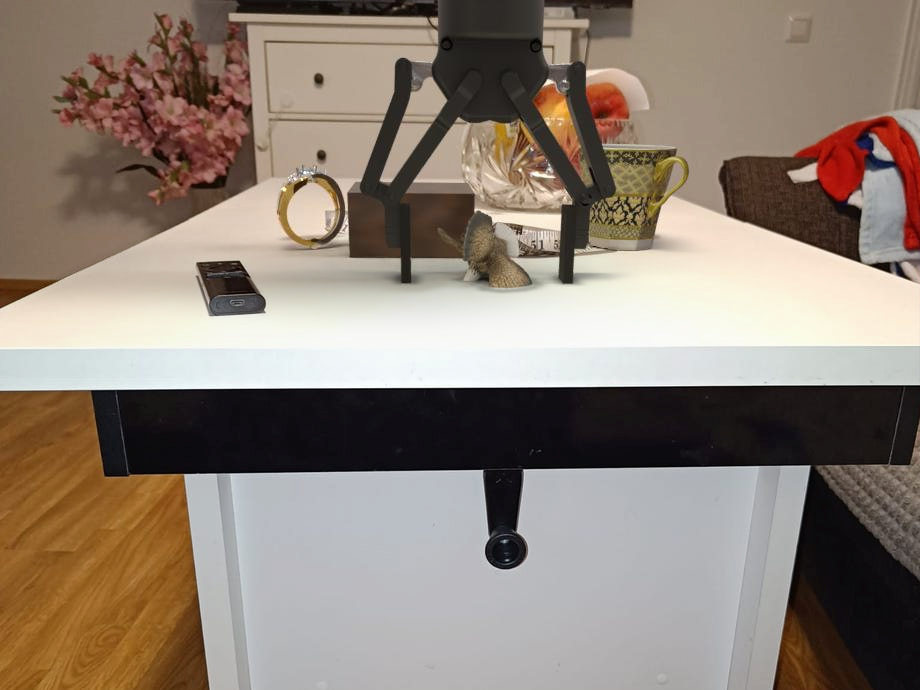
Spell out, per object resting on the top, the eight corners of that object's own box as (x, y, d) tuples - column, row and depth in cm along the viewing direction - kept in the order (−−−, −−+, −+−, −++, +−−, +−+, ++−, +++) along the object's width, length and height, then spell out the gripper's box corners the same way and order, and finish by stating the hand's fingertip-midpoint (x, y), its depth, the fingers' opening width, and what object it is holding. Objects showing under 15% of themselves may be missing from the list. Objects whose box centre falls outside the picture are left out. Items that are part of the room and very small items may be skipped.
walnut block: (349, 257, 89) (347, 192, 87) (357, 239, 100) (355, 181, 98) (474, 257, 90) (474, 193, 88) (468, 240, 101) (468, 182, 99)
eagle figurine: (412, 272, 75) (440, 269, 67) (455, 194, 75) (489, 182, 67) (489, 320, 78) (526, 323, 69) (531, 245, 78) (572, 239, 69)
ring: (340, 244, 97) (336, 163, 94) (351, 248, 94) (348, 165, 91) (275, 248, 94) (269, 164, 91) (285, 252, 91) (279, 167, 88)
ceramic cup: (554, 243, 100) (558, 144, 96) (617, 236, 105) (624, 143, 102) (647, 260, 90) (655, 151, 87) (710, 251, 96) (721, 149, 93)
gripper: (312, -30, 61) (327, 300, 69) (674, -22, 62) (647, 300, 71) (323, -17, 68) (336, 281, 76) (648, -9, 69) (627, 282, 77)
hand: (486, 291), depth 73 cm, fingers open, 12 cm apart
